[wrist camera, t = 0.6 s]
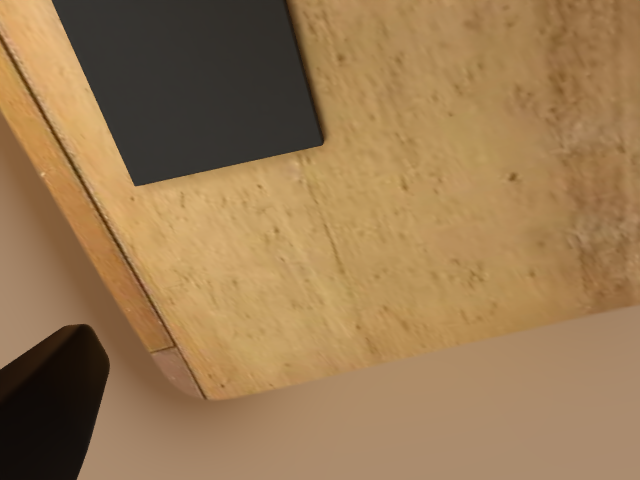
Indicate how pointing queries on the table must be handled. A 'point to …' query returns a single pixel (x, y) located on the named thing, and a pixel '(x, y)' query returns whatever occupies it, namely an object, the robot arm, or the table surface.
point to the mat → (193, 81)
